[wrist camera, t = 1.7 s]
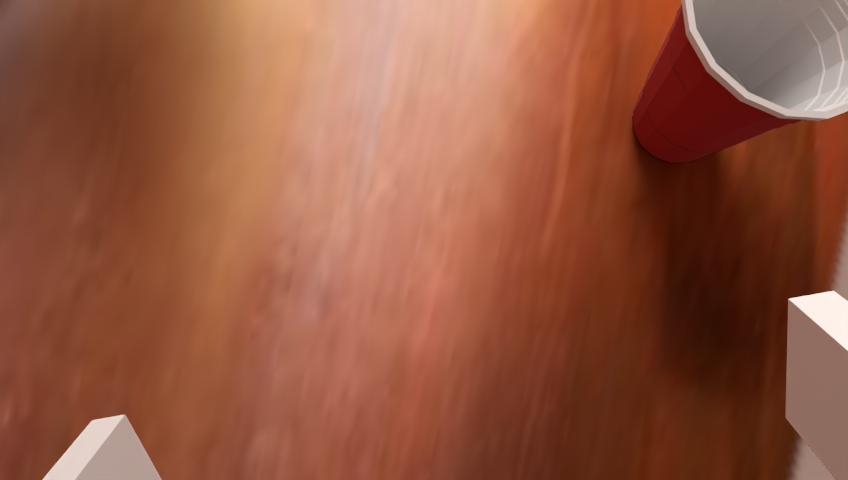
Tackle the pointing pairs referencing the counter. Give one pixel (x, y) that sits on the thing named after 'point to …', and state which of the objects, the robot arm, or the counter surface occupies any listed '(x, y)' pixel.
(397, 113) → the counter surface
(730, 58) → the plastic cup
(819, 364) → the robot arm
